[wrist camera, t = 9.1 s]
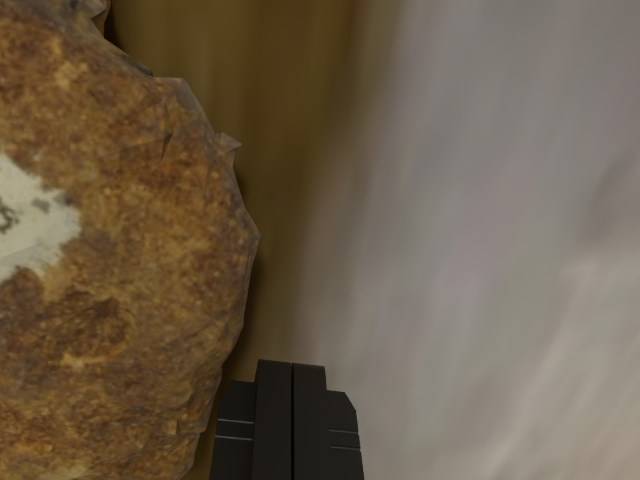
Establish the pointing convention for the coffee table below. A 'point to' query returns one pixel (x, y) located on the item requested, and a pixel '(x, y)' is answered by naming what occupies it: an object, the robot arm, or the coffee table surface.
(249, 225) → the decorative rock
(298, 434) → the robot arm
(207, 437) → the coffee table surface
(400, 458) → the coffee table surface
